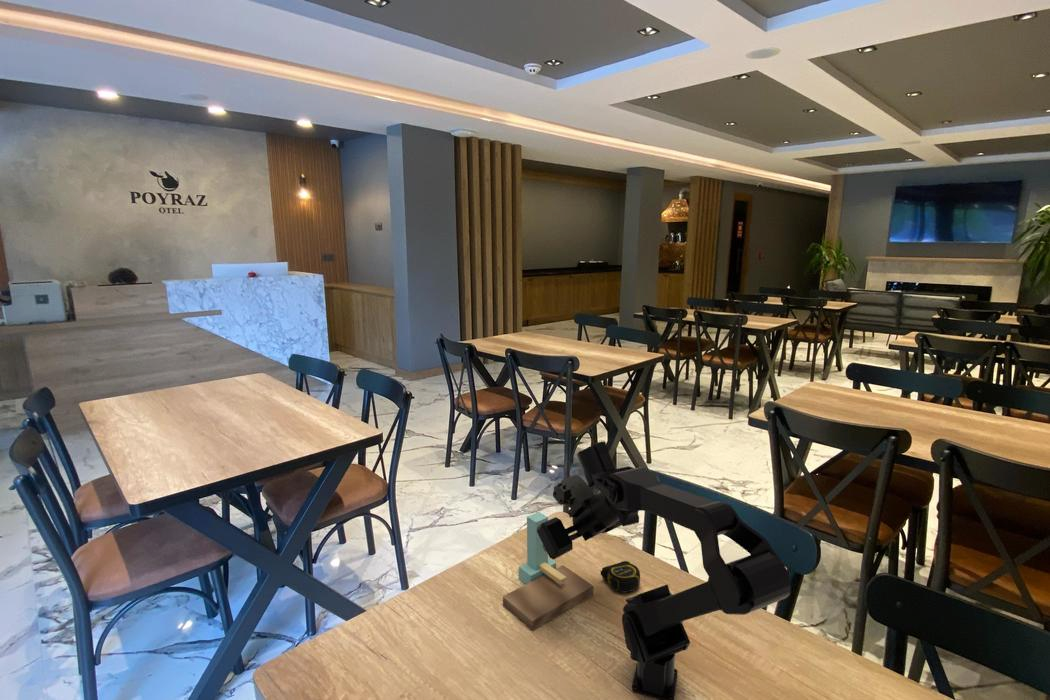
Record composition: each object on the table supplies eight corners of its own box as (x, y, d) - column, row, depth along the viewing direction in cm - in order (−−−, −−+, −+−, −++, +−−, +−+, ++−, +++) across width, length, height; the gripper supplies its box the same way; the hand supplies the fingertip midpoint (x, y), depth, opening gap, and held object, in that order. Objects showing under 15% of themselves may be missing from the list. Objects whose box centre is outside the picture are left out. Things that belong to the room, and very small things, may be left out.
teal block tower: (550, 603, 105) (550, 539, 102) (518, 579, 112) (518, 518, 110) (575, 589, 109) (576, 527, 106) (543, 566, 117) (543, 507, 114)
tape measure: (627, 572, 115) (627, 556, 114) (646, 590, 109) (647, 574, 108) (599, 580, 112) (600, 564, 111) (618, 599, 106) (618, 583, 105)
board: (532, 630, 98) (532, 620, 97) (503, 605, 104) (502, 595, 104) (593, 594, 107) (593, 585, 107) (562, 573, 114) (562, 564, 114)
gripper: (615, 456, 103) (575, 489, 114) (543, 483, 92) (505, 517, 102) (647, 508, 99) (602, 538, 109) (574, 544, 87) (532, 573, 98)
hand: (561, 540), depth 105 cm, fingers open, 9 cm apart
